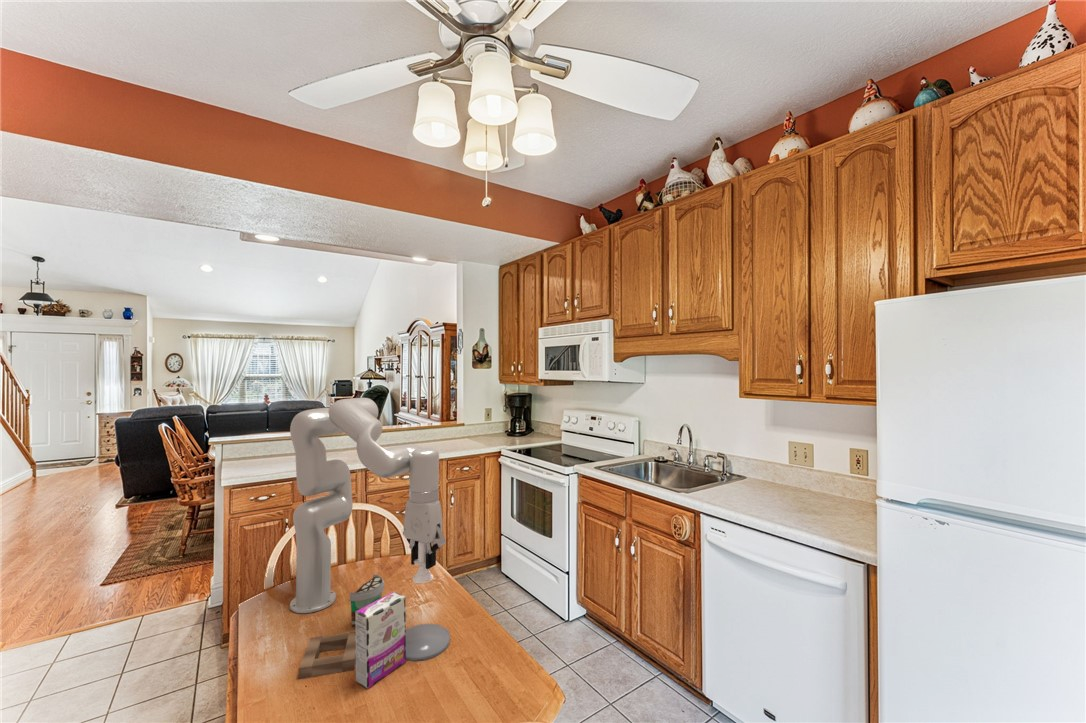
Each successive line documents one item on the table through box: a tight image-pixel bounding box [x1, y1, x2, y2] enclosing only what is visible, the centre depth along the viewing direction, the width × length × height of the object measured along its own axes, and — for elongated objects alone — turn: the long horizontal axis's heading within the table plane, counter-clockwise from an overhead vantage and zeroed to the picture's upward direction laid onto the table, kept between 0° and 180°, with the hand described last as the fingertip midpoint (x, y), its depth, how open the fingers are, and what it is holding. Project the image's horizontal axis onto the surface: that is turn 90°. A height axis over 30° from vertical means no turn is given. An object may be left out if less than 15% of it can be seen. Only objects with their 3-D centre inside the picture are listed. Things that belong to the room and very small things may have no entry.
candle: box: [412, 542, 434, 584], centre depth 117 cm, size 5×5×12 cm
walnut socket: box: [298, 631, 356, 680], centre depth 111 cm, size 12×12×2 cm
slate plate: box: [405, 623, 451, 662], centre depth 117 cm, size 14×14×1 cm
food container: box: [348, 573, 385, 628], centre depth 129 cm, size 12×6×10 cm, turn 168°
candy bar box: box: [354, 591, 407, 690], centre depth 106 cm, size 11×5×16 cm, turn 148°
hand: (423, 564), depth 117 cm, fingers closed on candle, 4 cm apart
